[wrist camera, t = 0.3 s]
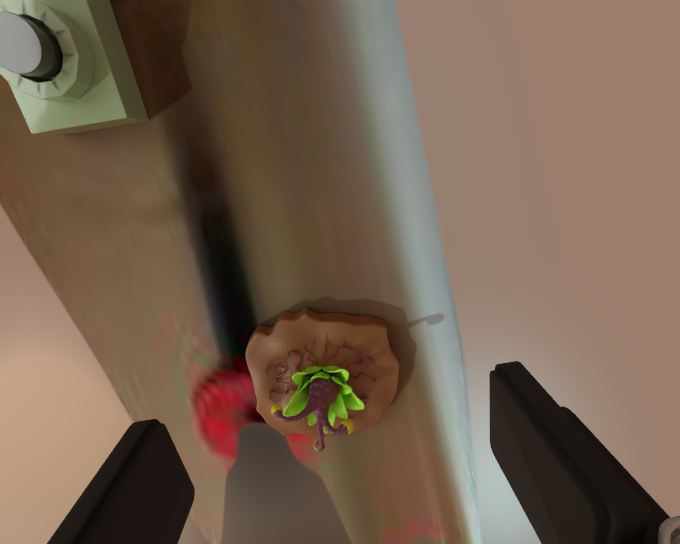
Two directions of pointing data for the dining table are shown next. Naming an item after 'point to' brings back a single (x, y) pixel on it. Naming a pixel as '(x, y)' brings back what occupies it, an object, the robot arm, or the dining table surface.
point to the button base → (78, 70)
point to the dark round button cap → (28, 47)
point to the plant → (322, 373)
